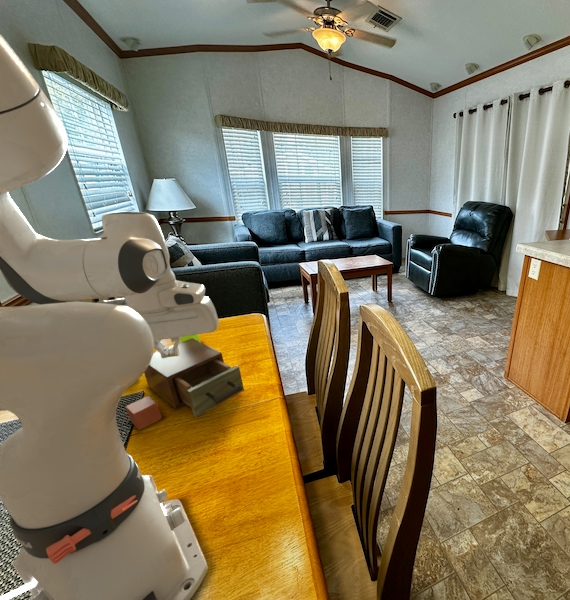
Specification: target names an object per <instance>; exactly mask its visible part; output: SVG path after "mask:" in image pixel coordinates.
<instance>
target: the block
mask: <svg viewBox="0 0 570 600" xmlns="http://www.w3.org/2000/svg"><path fill="white" fill-rule="evenodd" d="M125 410H126V413H127V415H128V417H129V418H128V419H129V420H130V422H131V424H132V425H133V426H135V427H136V429H138V431H141V430H143V429H145V428H147V427H148V426H151V425H153V424H154V423H156V422H159V420H161V419H163V416H162V414H161V412H160V411H161V410H160V408H159V405H158V402H156V401H155V400H154V399H153V398H152V397H151V396H149V395H147V396H145V397H142V398H141V399H138V400H136V401H135V402H132V403H130V404H128V405H125Z"/></svg>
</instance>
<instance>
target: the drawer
mask: <svg viewBox="0 0 570 600" xmlns="http://www.w3.org/2000/svg"><path fill="white" fill-rule="evenodd" d="M240 369H241V368H240V366H238V365H235V366H233V367H231V365H229V364H227V363H225V362H224V363H223V362H221V361H219V360H218V359H214V360H212V361H209V362H207V363H205V364H203V365H201V366H199V367H196V368H194V369H192V370H190V371H188V372H185V373H183V374H181V375H179V376H177V377H174V378H172V380H173V383H174V387H175V390H176V393H177V396H178V398H179V399H180V400H181V401H183V402H184V403H186V404H185V405H186V406H188V407H190V408H191V410H192V413H193V416H194V417H195V418H198V417H200V416H201V415H203V414H205V413H207V412H209V411H210V410H212V409H214V408H216V407H218V406H219V405H221V404H223V403H225V402H227V400H230V399H231V398H233V397H235V396H237V395H239V394H240V393H241V392H244V391H245V387H244V384H243V379H242V374H241V370H240Z"/></svg>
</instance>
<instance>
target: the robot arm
mask: <svg viewBox="0 0 570 600" xmlns="http://www.w3.org/2000/svg"><path fill="white" fill-rule="evenodd" d="M67 147H68V135H67V130H66V129H65V126H64V124H63V121H62V119H61V118H60V115H59V114H58V112H57V111H56V109H55V107H54V106H53V104H52V102H51V100H50V99H49V98H48V96H47V95H46V94H45V92H44V90H43V89H42V88H41V87H40V85H39V83H38V82H37V81H36V79H35V78H34V76H33V75H32V73H31V72H30V71H29V68H28V67H27V66H26V65H25V64H24V62H23V61H22V60H21V58H20V57H19V56H18V54H17V53H16V51H15V50H14V49H13V48H12V46H11V45H10V44H9V43H8V41H7V40H6V39H5V37H4V36H3V35H2V34H1V33H0V272H1V274H2V276H3V277H4V280H5V281H6V283H7V284H8V286H9V287H10V288H11V290H13V291H14V292H15V293H16V294H18V295H19V296H20V297H22V298H24V299H25V300H27V301H29V302H31V303H33V304H31V305H30V304H28V305H18V306H0V412H5V411H8V412H10V413H12V414H13V415H15V416H16V417H17V418H18V420H19V422H20V423H21V424H20V425H21V427H19V428H18V429H17V430H15V431H14V432H13V433H11V434H10V435H9V436H8V437H6V438H5V439H4V440H3V441H2V442H1V444H0V501H1V503H2V504H3V505H4V507H5V509H6V510H7V512H8V513H9V515H10V516H9V524H10V527H11V529H12V534H13V536H14V537H15V539H16V541H17V542H18V543H19V544H20V545H21V546H22V547H21V549H20V550H19V552H18V554H17V555H16V557H15V560H14V561H13V563H12V566H13V568H14V569H15V571H16V572H17V574H18V576H19V577H20V579H21V580H22V581H23V583H24V584H23V585H21V586H19V587H18V588H15V589H13V590H10V591H9V592H7V593H5V594H3V595H0V600H11V599H12V598H14V597H16V596H19V595H20V594H23V593H25V592H27V591H29V592H30V593H31V596H30V597H29V598H28V599H27V600H191V598H192V597H193V596H194V595H195V593H196V592H197V591H198V589H199V587H200V585H201V584H202V582H203V581H204V579H205V577H206V575H207V573H208V571H209V566H208V563H207V559H206V557H205V555H204V552H203V550H202V548H201V546H200V542H199V541H198V538H197V536H196V533H195V531H194V529H193V526H192V523H191V521H190V519H189V517H188V515H187V512H186V509H185V508H184V505H183V503H182V501H181V500H180V499H177V498H175V499H170V500H166V499H168V498H169V496H168V492H167V491H166V490H165V488H163V489H161V490H160V491H159V490H158V488H157V485H156V482H155V480H154V478H153V477H154V476H153V475H149V474H142V473H141V470H140V467H139V465H138V464H137V462H136V461H135V460H134V459H133V456H132V455H131V454H129V453H127V451H126V448H125V445H124V442H123V440H122V436H121V434H120V430H119V427H118V422H117V409H118V406H119V402H120V401H121V398H122V397H123V395H124V393H125V392H126V391H127V390H128V389H129V388H130V387H132V386H133V385H134V384H135V383H136V382H137V381H138V380H140V378H141V377H142V376H143V375H144V372H145V371H146V369H147V368H148V366H149V364H150V362H151V359H152V356H153V353H155V352H154V351H156V352H157V351H158V352H160V355H161V358H167V357H173V356H178V355H179V348H178V345H179V342H180V340H181V338H182V337H184V336H190V335H197V334H199V335H203V334H210V333H211V334H212V333H214V332H216V331H217V329H218V327H219V324H220V321H219V317H218V314H217V310H216V307H215V305H214V303H213V302H212V300H211V298H209V296H206V295H205V294H206V287H205V285H204V284H200V283H195V282H188V281H182V280H177V279H176V275H175V273H174V272H173V270H172V267H171V265H170V258H171V257H170V252H169V248H168V245H167V242H166V239H165V237H164V234H163V232H162V229H161V226H160V225H159V222H158V220H157V219H156V217H155V216H154V215H153V214H150V213H148V212H144V211H111V212H107V213H104V214H102V216H101V225H102V231H103V233H102V234H101V235H99V236H98V238H87V239H54V238H51V237H46V236H43V235H41V234H38V233H37V232H36V231H35V229H34V228H33V227H32V226H31V224H30V222H29V221H28V220H27V218H26V217H25V215H24V214H23V213H22V211H21V210H20V209H19V207H18V206H17V204H16V203H15V201H14V200H13V199H12V198H11V196H10V194H9V192H11V191H15V190H17V189H20V188H22V187H25V186H28V185H31V184H33V183H35V182H37V181H39V180H41V179H43V178H44V177H45V176H47V175H49V174H50V173H51V172H52V171H54V169H55V168H56V167H57V166H58V165H59V164H60V163H61V161H62V160H63V159H64V156H65V154H66V152H67ZM116 297H122V298H116ZM108 298H109V299H110V298H114V299H110V300H107V299H108ZM97 299H106V300H99V301H97V302H91V301H90V302H88V301H85V300H97ZM163 340H170V341H171V343H174V344H173V345H174V346H173V345H171V347H170V346H165V345H164V344H163V343H162V341H163ZM188 587H189V588H188Z"/></svg>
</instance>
